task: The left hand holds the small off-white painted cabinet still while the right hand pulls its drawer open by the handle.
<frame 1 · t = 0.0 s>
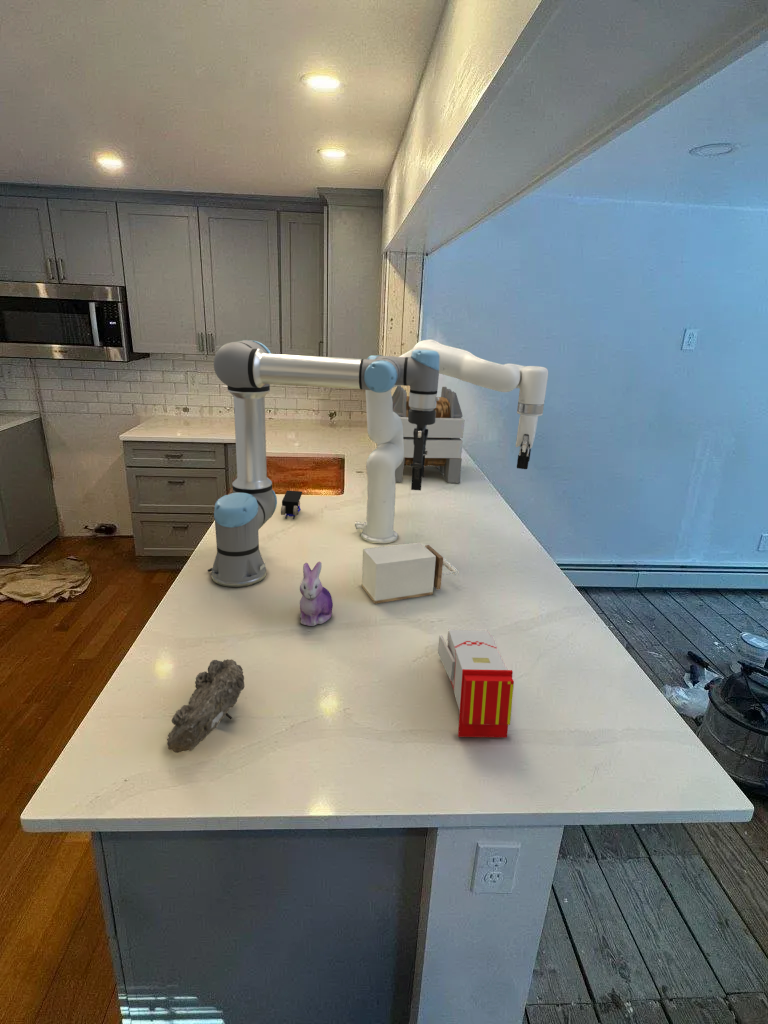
left hand: (417, 482, 162), 28 cm above the counter, tool pointing down, fingers open, 13 cm apart
right hand: (523, 464, 174), 31 cm above the counter, tool pointing down, fingers open, 9 cm apart
figurine character: (291, 514, 213), on the counter
transformer: (419, 473, 275), on the counter
drawer: (417, 569, 160), point 6 cm above the counter, slide at 1.5 cm
toy: (469, 691, 119), on the counter
figurine: (315, 618, 144), on the counter
cabinet: (396, 590, 160), on the counter
fossil: (212, 717, 108), on the counter
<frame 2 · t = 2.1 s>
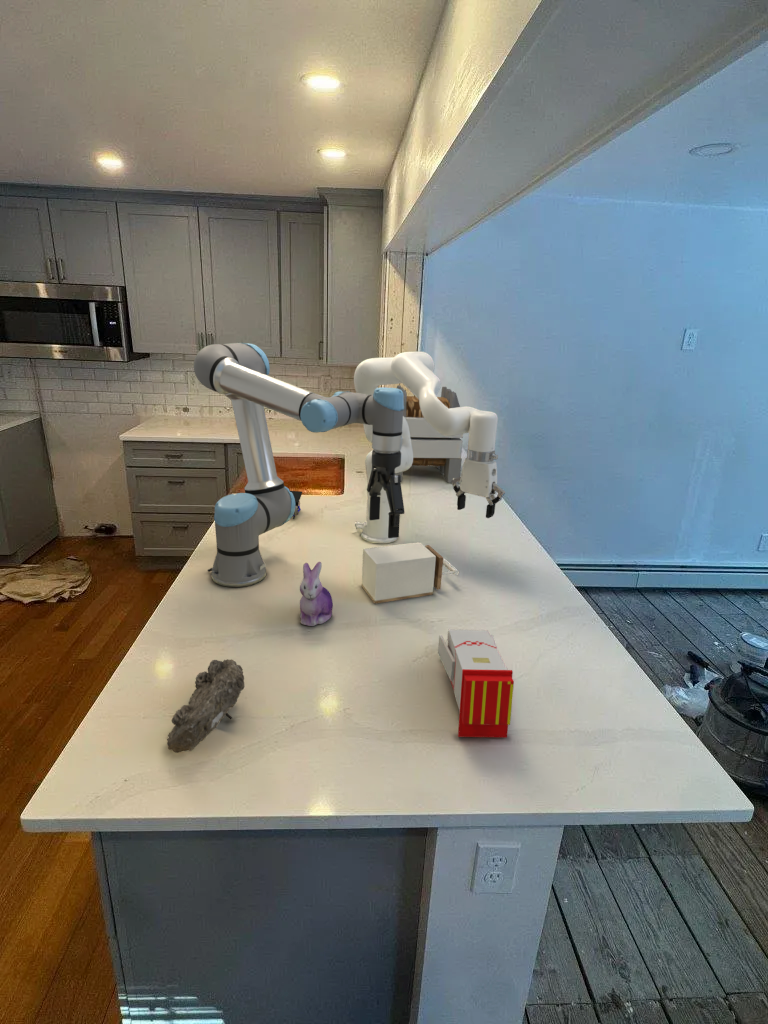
left hand: (383, 528, 151), 19 cm above the counter, tool pointing down, fingers open, 13 cm apart
right hand: (475, 512, 165), 20 cm above the counter, tool pointing down, fingers open, 9 cm apart
nothing on the counter moved.
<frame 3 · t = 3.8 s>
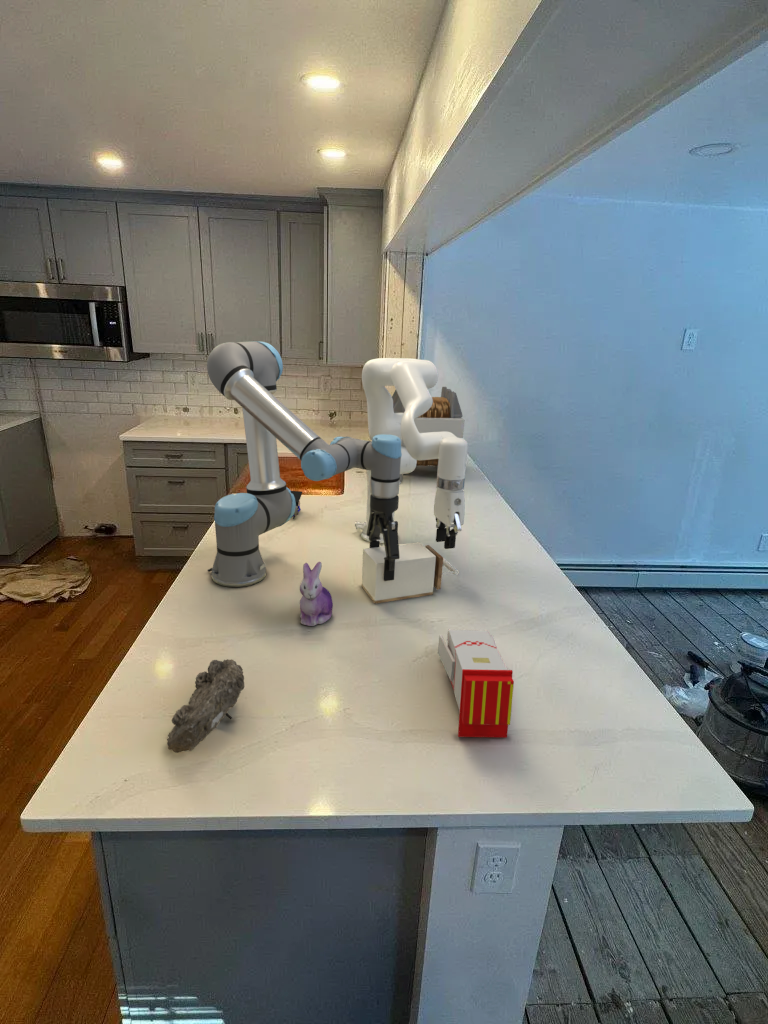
left hand: (381, 571, 156), 7 cm above the counter, tool pointing down, fingers closed on cabinet, 10 cm apart
right hand: (445, 544, 161), 13 cm above the counter, tool pointing down, fingers open, 4 cm apart
cabinet: (396, 590, 160), on the counter, touching left hand
everything else where it was.
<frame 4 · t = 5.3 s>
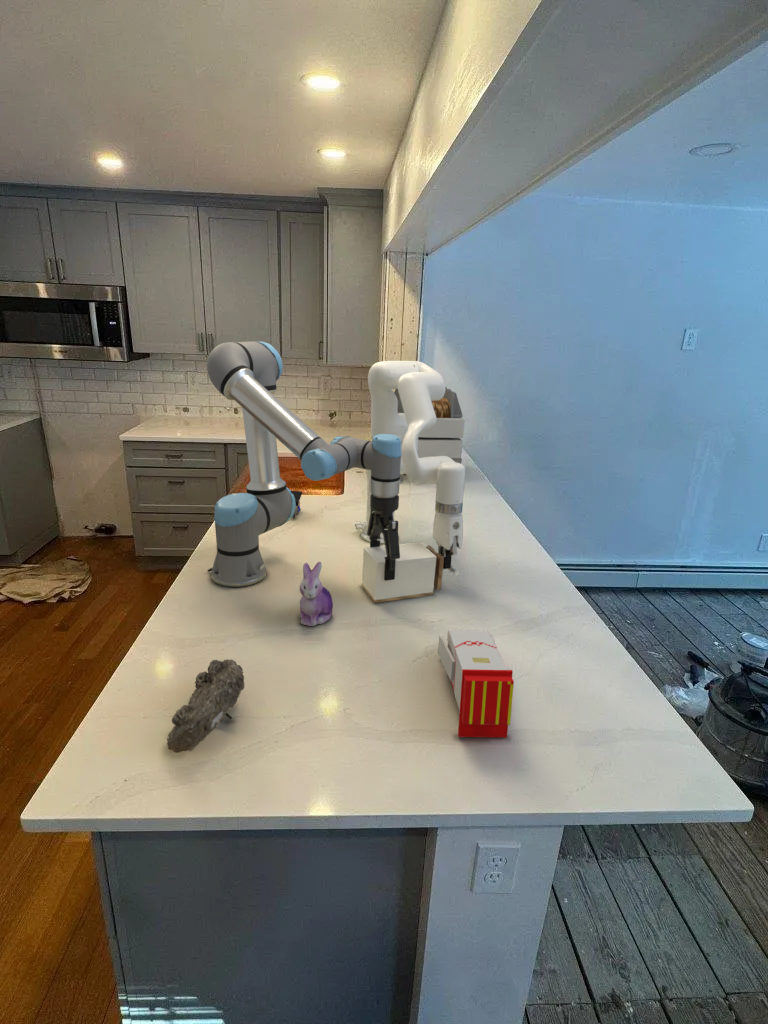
left hand: (381, 570, 156), 7 cm above the counter, tool pointing down, fingers closed on cabinet, 10 cm apart
right hand: (444, 567, 162), 5 cm above the counter, tool pointing down, fingers closed
drawer: (418, 569, 160), point 6 cm above the counter, slide at 1.5 cm, touching right hand
cabinet: (397, 590, 160), on the counter, touching left hand
everything else where it was.
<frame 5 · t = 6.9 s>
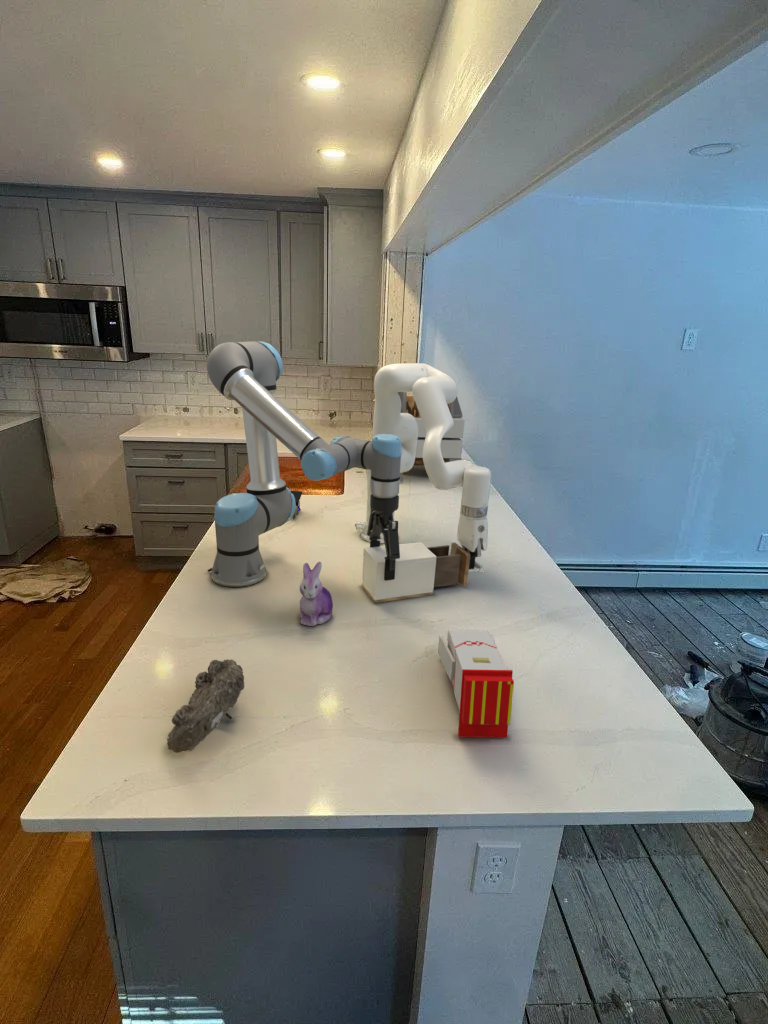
left hand: (381, 570, 156), 7 cm above the counter, tool pointing down, fingers closed on cabinet, 10 cm apart
right hand: (468, 568, 166), 4 cm above the counter, tool pointing down, fingers closed
drawer: (444, 565, 163), point 6 cm above the counter, slide at 9.9 cm, touching right hand
cabinet: (397, 590, 160), on the counter, touching left hand
everything else where it was.
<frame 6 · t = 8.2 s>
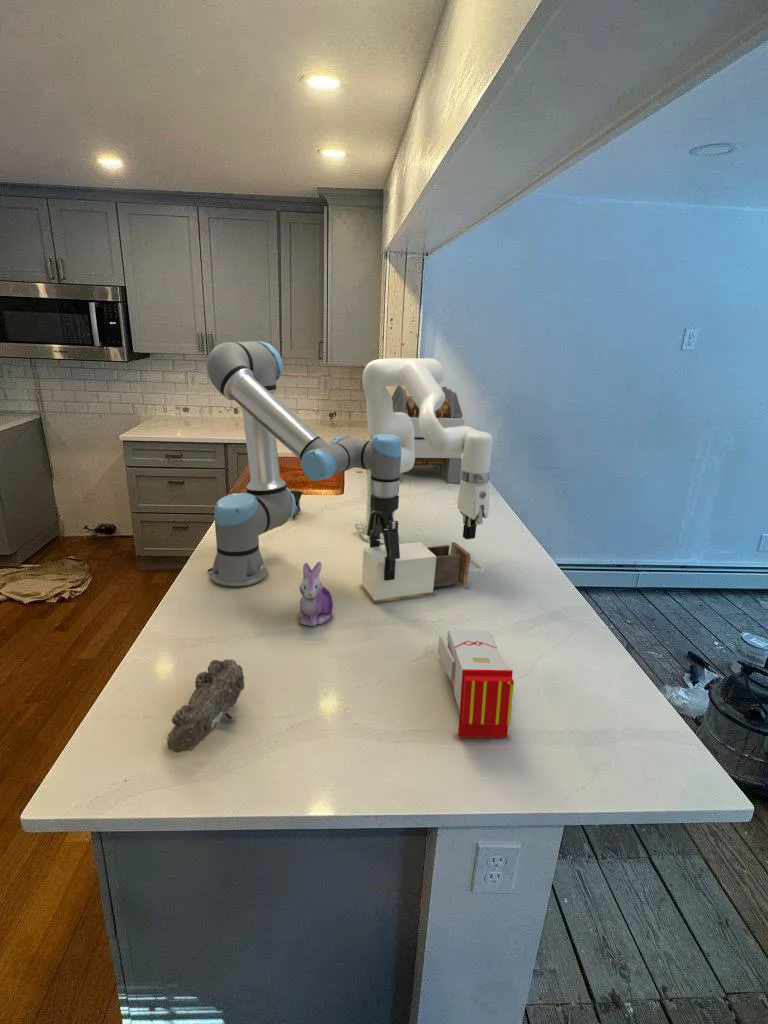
left hand: (381, 570, 156), 7 cm above the counter, tool pointing down, fingers closed on cabinet, 10 cm apart
right hand: (468, 537, 163), 14 cm above the counter, tool pointing down, fingers closed
drawer: (444, 565, 163), point 6 cm above the counter, slide at 10.0 cm
cabinet: (397, 590, 160), on the counter, touching left hand
everything else where it was.
when the left hand's fingers open (7 cm above the counter, at t = 8.9 s): cabinet stays where it is, on the counter.
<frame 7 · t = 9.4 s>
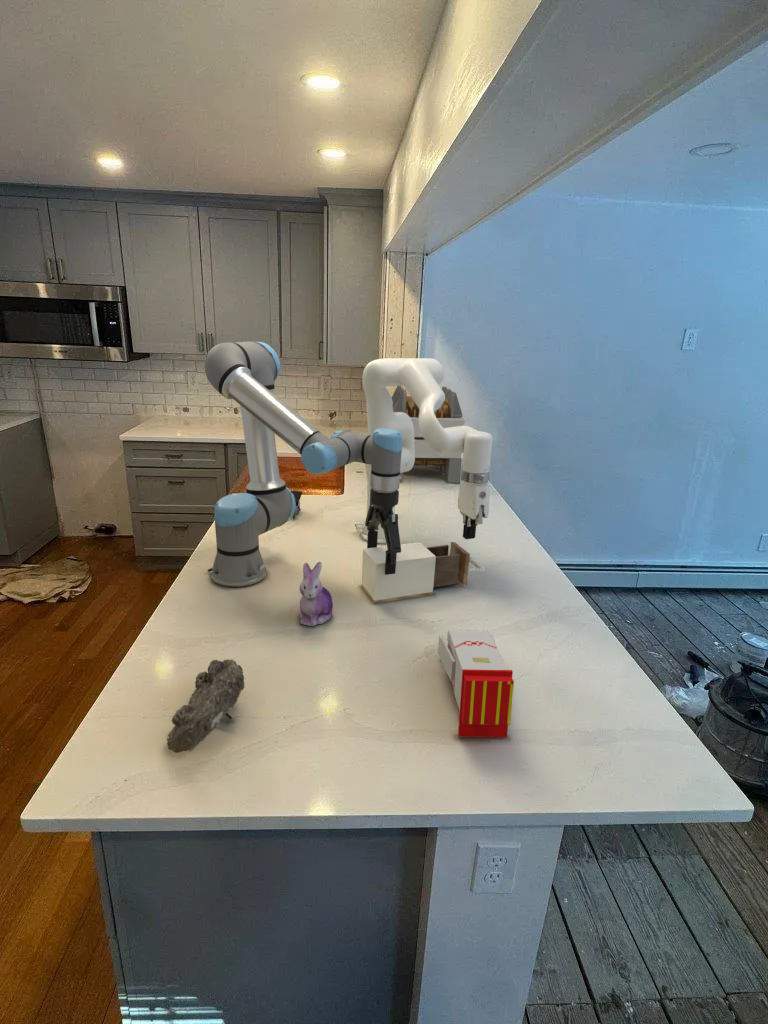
left hand: (380, 563, 155), 9 cm above the counter, tool pointing down, fingers open, 13 cm apart
right hand: (468, 537, 163), 14 cm above the counter, tool pointing down, fingers closed
cabinet: (396, 590, 160), on the counter
everything else where it was.
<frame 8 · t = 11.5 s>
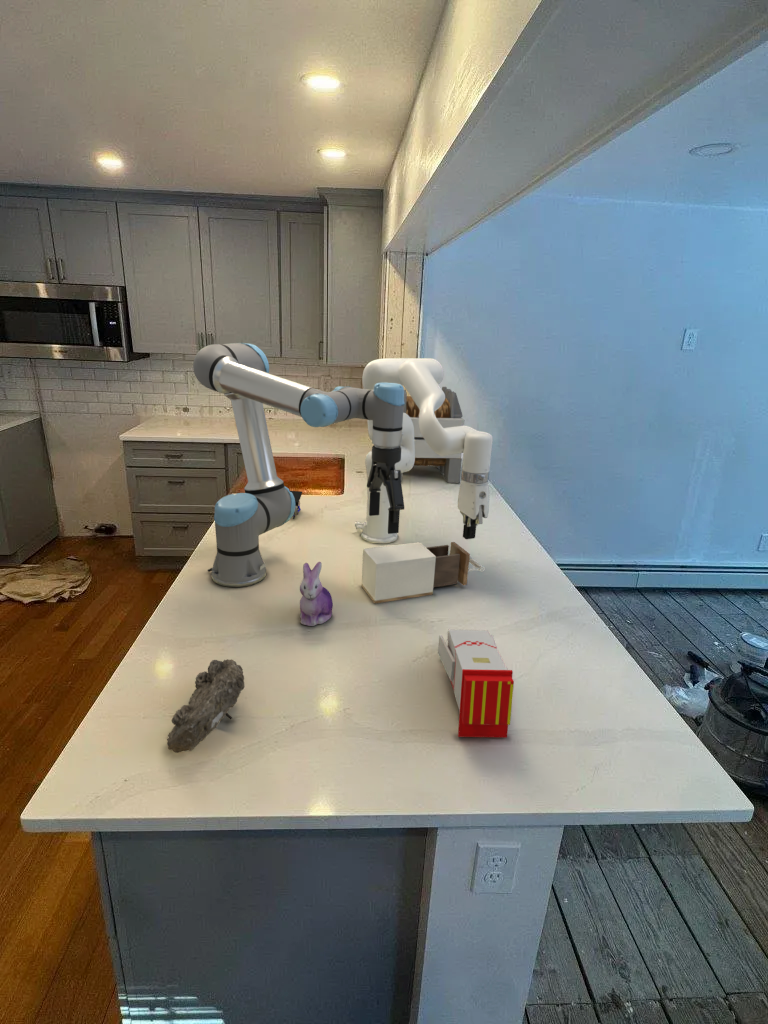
left hand: (383, 523, 151), 21 cm above the counter, tool pointing down, fingers open, 13 cm apart
right hand: (468, 537, 163), 14 cm above the counter, tool pointing down, fingers closed
nothing on the counter moved.
at the end: drawer slide at 9.9 cm; cabinet tilted 0°; cabinet never tilted more than 1° during the clip; cabinet moved 0.0 cm from its start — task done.
